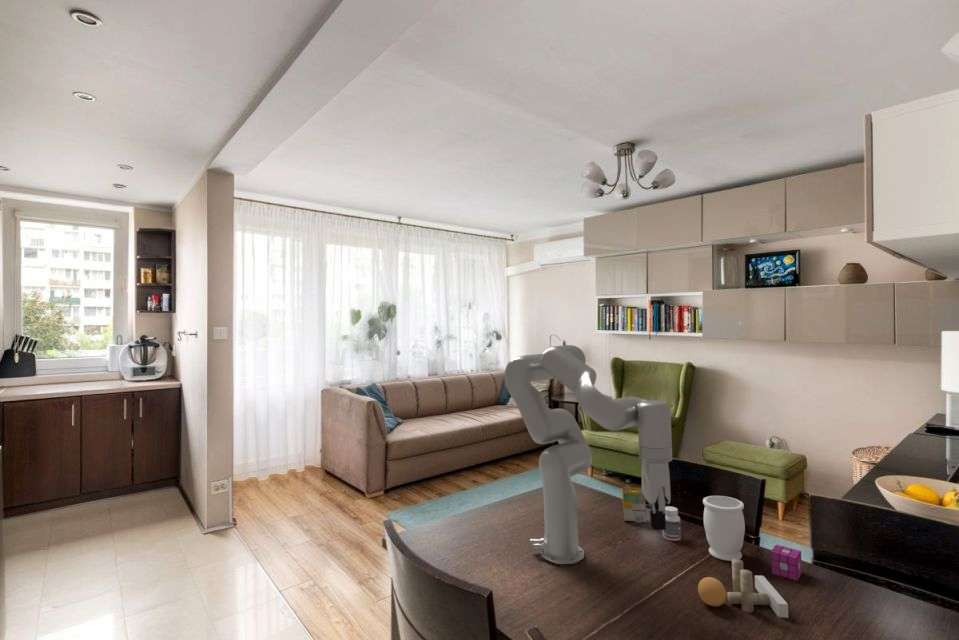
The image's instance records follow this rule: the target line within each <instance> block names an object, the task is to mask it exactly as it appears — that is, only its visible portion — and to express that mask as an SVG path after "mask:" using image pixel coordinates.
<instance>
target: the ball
mask: <svg viewBox="0 0 959 640" xmlns="http://www.w3.org/2000/svg"><path fill="white" fill-rule="evenodd" d="M697 591H698V595H699V597H700V599H701V600H702V601H703V602H704V604H706V605H708V606H710V607H715V608H716V607H720V606H722V605H723V604H724V603H725V602H726V601H727V600H726V599H727V590H726V588H725V586H724V585H723V583H722V582H721V581H720V580H719V579H717V578H716V577H711V576H706V577H704V578H702V579H701V580H699V582H698V586H697Z"/></svg>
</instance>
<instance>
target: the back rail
mask: <svg viewBox="0 0 959 640" xmlns="http://www.w3.org/2000/svg"><path fill="white" fill-rule="evenodd" d="M754 589H756V590H757V593H767V594H768V596H769V599H770V605H768V606H769V607H770V608H771V610H772V611H774V613H775V615H776V616H777V618H786V619H787V618H788V619H789V604H788V602H787V601H786V600H785V599H784V598H783V597H782V596H781V594H780V593H779V592H778V591H777V590H776V589H775V588H774V586H773V585H772V584H771V583H770V582H769V581H768V580H767V578H766V577H765V576H764V575H754Z"/></svg>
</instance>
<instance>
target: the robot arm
mask: <svg viewBox="0 0 959 640" xmlns="http://www.w3.org/2000/svg"><path fill="white" fill-rule="evenodd" d="M586 359H587V358H586V355H585V353H584V351H583V350H582V349H581V348H579V347H578V346H576V345H573V344H572V345H571V344H566V345H554V346H551V347H548V348H546V349H544V351H543V352H542V353H536V354H534V353H533V354H525V355H524V354H523V355H518V356H516V357H513V358H512V359H510V360H509V361H508V362H507V364H506V366H505V369H504V383H505V386H506V388H507V391H508V393H509V395H510V396H511V398H512V399H513V401H514V403H515V404H516V407H517V409H518V411H519V413H520V415H521V417H522V420H523V422H524V424H525V426H526V429H527V431H528V434H529V435H530V438H531V439H532V440H533V441H534V443H536V444H538V445H545V444H546V445H547V444H550V443H554V442H558V444H555V445H552V446H549V447H548V448H546V449H544V450H543V451H542V452H541V454H540V456H539V459H538V468H539V473H540V476H541V481H542V491H543V494H542V495H543V517H544V520H543V521H544V523H543V524H544V534H543V537H540V538H529V546H533V549H534V550H537V549H538V550H540V551H539V553H541V555H542V556H543V557H545V558H546V559H548V560H550V561H553V562H557V563H562V564H571V563H576V562H579V561H580V560H582V559H583V560H584V558H585V551H584V549H583V548H582V547H581V546H579V530H578V527H579V526H578V523H579V522H578V505H577V504H578V501H577V491H576V487H575V486H574V483H573V482H572V479H571V477H574V476H576V475H579V474H581V473H583V472H585V471H587V470H589V468H590V467H591V466H592V463H593V456H592V455H593V454H592V450H591V447H590V446H589V443H588V441H587V440H586V437H585V436H584V434H583V432H582V430H581V427H580V426H579V424H578V421H576V418H575V417H574V416H573V414H572V413H571V412H570V411H568V410H567V409H564V408H553V409H550V408H549V406H548V404H547V403H546V400H545V398H544V396H543V394H542V393H541V392H540V390H538V389H537V388H536V387H535V386H533V385H532V383H534V382H542V381H548V380H552V379H553V380H554V379H555V380H557V381H558V382H559V383H561V384H562V385H563V386H564V387H566V388H567V389H568V390H569V391H571V393H573V394H574V395H575V398H576V401H577V403H578V406H579V407H580V409H581V410H582V412H583V413H584V414H585V415H586V416H587V417H589V418H590V419H591V420H592V421H593V422H595V423H596V424H597V425H599V426H600V427H601V428H603V429H605V430H607V431H612V432H617V431H621V430H626V429H627V428H633V427H637V429H638V430H637V431H638V458H639V459H640V460H641V488H642V492H643V494H644V496H645V501H646V502H647V503H648V504H649V508H650V510H649V517H650V518H649V520H650V523H649V525H650V527H651V529H652V530H659V531H663V530H665V529H666V519H665V507H666V505H669V504H670V503H671V479H670V468H669V463H671V462H672V461H673V446H672V445H673V443H672V442H673V441H672V440H673V439H672V437H673V436H672V417H671V415H672V414H671V413H672V412H671V411H672V410H671V406H670V405H669V403H668V402H667V401H664V400H658V399H657V400H655V399H654V400H653V399H650V400H649V399H648V400H647V399H645V398H642V397H639V396H638V397H637V396H624V397H619V398H618V397H617V398H613V399H610V398H609V397H608V396H606V395H605V394H603V393H602V392H600V391H599V390H598V389H597V388H596V387H595V384H596V381H597V372H596V370H595V369H594V368H592V367H591V366H590V365H588V364H587V363H586V361H587V360H586ZM542 550H544V551H542ZM541 555H540V556H541ZM583 560H582V561H583ZM580 562H581V561H580ZM580 562H579V563H580ZM576 564H577V563H576Z"/></svg>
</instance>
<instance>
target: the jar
mask: <svg viewBox="0 0 959 640" xmlns="http://www.w3.org/2000/svg"><path fill="white" fill-rule="evenodd" d="M702 504H703V505H704V508H703V509H704V510H703V527H704V532H705V537H706V540H707V543H708V545H709V546H710V547H709V548H708V553H709V554H710V555H711V556H712V557H714V558H716V559H718V560H722V561H726V562H727V561H728V562H732V559H739V560H741V559H742V557H743V554H742V552H741V550H742V548H743V545H744V540H745V532H746V525H745V516H744V512H743V510H744V508H745V507H744V506H745V505H744V503H743V501H741V500H739V499H737V498H734V497H730V496H725V495H709V496H706V497H703V499H702Z"/></svg>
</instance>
